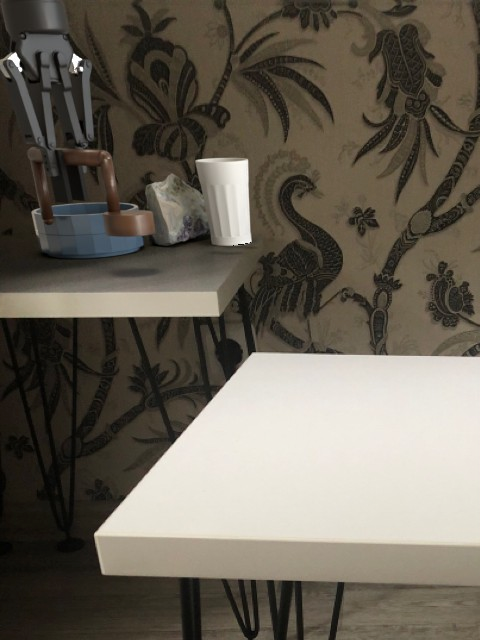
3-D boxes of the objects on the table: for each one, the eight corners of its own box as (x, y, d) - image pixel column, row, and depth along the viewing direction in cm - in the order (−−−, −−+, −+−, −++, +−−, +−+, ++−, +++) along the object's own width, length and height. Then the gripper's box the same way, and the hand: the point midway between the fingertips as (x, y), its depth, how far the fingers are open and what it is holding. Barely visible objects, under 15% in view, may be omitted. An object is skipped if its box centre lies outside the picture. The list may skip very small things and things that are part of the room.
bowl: (33, 261, 134) (23, 217, 131) (49, 245, 146) (40, 204, 143) (141, 256, 136) (133, 213, 133) (147, 240, 149) (141, 201, 146)
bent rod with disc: (165, 232, 124) (154, 150, 119) (128, 238, 119) (114, 152, 114) (63, 222, 133) (49, 146, 129) (25, 227, 129) (8, 147, 124)
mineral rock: (215, 233, 156) (207, 168, 151) (236, 241, 148) (228, 173, 143) (139, 239, 150) (128, 172, 145) (157, 248, 142) (145, 178, 137)
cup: (267, 240, 148) (258, 158, 142) (233, 248, 142) (223, 162, 136) (230, 237, 152) (220, 157, 146) (195, 244, 146) (184, 161, 140)
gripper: (-4, -8, 107) (43, 209, 119) (100, -1, 118) (133, 196, 130) (-42, -5, 111) (7, 205, 122) (62, 2, 122) (98, 194, 133)
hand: (72, 200), depth 126 cm, fingers closed on bent rod with disc, 2 cm apart
